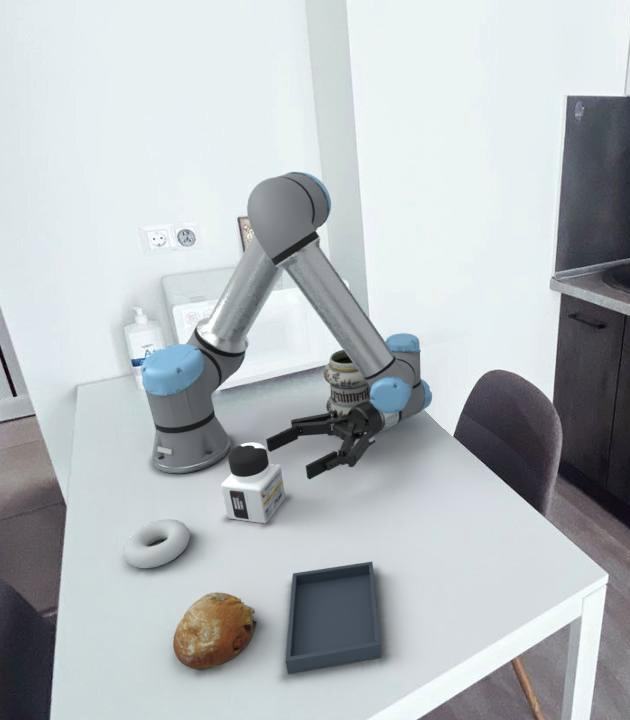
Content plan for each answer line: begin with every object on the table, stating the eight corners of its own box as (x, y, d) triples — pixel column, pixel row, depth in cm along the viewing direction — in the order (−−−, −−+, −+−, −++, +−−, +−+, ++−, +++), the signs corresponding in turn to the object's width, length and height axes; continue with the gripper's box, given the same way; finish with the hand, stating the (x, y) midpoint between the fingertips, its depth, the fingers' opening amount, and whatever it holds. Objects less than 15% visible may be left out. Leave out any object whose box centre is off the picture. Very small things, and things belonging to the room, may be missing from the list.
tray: (294, 585, 85) (292, 573, 84) (373, 573, 87) (372, 561, 86) (287, 674, 71) (285, 661, 70) (381, 657, 73) (380, 644, 72)
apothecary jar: (338, 443, 122) (330, 370, 114) (322, 420, 131) (314, 351, 124) (388, 429, 127) (383, 359, 120) (369, 408, 137) (363, 341, 129)
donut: (175, 573, 87) (201, 529, 96) (170, 557, 86) (197, 514, 95) (113, 573, 87) (145, 529, 97) (107, 557, 86) (140, 514, 95)
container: (266, 524, 98) (255, 464, 92) (227, 519, 99) (214, 459, 94) (286, 497, 104) (277, 440, 99) (249, 493, 106) (238, 435, 101)
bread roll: (210, 627, 82) (176, 594, 79) (269, 601, 81) (237, 566, 78) (187, 690, 73) (148, 655, 70) (252, 662, 72) (216, 625, 69)
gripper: (413, 452, 111) (328, 502, 97) (339, 413, 127) (256, 451, 113) (412, 421, 108) (323, 467, 94) (336, 384, 124) (250, 419, 110)
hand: (286, 458), depth 103 cm, fingers open, 13 cm apart
